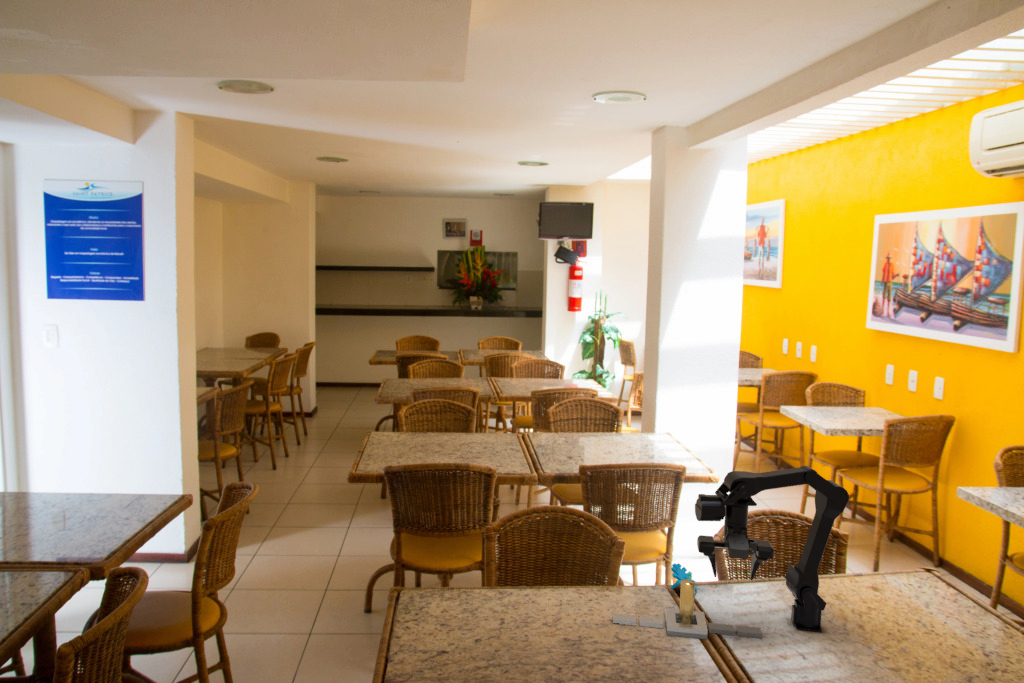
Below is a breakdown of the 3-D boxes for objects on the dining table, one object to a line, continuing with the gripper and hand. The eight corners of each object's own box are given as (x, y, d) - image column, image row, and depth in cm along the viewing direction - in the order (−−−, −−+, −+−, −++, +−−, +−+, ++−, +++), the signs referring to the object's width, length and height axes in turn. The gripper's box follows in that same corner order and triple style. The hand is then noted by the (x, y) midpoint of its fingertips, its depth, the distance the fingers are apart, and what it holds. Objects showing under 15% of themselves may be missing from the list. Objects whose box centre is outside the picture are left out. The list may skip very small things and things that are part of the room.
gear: (691, 596, 199) (669, 565, 203) (675, 607, 201) (655, 576, 206) (704, 587, 208) (683, 558, 212) (689, 598, 210) (669, 568, 215)
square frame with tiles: (757, 625, 186) (758, 617, 186) (764, 645, 176) (765, 636, 176) (613, 611, 193) (613, 603, 192) (612, 629, 183) (612, 620, 183)
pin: (694, 626, 185) (696, 581, 184) (691, 632, 182) (693, 586, 181) (680, 623, 187) (682, 578, 186) (677, 629, 184) (679, 583, 183)
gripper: (702, 528, 177) (699, 588, 179) (779, 534, 174) (776, 595, 176) (698, 514, 188) (695, 570, 190) (771, 519, 185) (767, 576, 187)
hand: (733, 577), depth 185 cm, fingers open, 9 cm apart
